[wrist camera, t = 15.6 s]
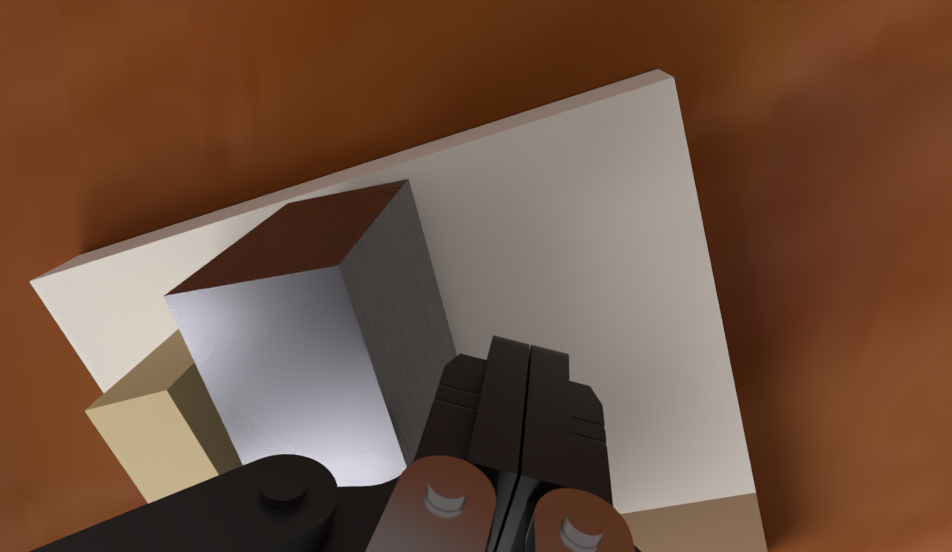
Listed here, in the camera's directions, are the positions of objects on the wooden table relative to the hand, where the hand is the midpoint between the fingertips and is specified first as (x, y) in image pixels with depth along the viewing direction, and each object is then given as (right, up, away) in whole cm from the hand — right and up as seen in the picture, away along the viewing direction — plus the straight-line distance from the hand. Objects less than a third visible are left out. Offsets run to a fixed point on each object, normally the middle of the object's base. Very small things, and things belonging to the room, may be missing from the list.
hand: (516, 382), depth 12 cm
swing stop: (-2, -1, +4) cm, 5 cm away
